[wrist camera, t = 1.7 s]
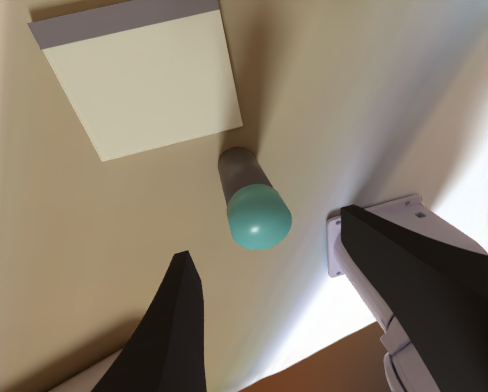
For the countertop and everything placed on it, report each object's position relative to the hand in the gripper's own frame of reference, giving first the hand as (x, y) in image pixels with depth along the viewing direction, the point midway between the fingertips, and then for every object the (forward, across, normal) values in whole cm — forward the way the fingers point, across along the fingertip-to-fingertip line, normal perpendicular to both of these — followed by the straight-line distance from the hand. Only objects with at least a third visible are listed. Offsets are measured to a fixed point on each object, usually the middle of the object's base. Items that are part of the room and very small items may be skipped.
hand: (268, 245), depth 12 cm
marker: (+10, 0, 0) cm, 10 cm away
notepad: (+10, +4, -7) cm, 12 cm away
